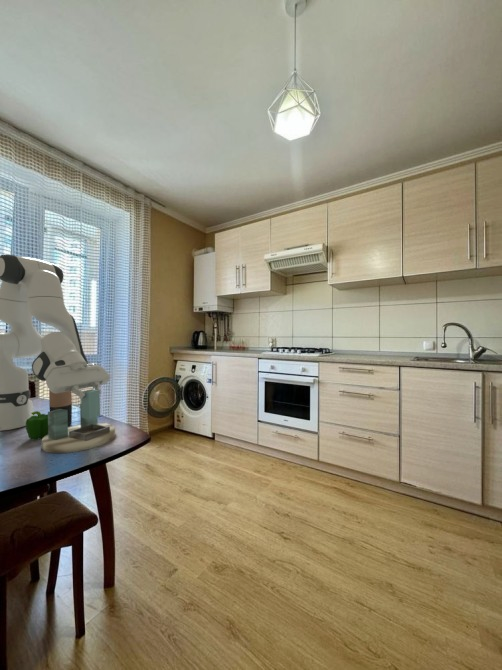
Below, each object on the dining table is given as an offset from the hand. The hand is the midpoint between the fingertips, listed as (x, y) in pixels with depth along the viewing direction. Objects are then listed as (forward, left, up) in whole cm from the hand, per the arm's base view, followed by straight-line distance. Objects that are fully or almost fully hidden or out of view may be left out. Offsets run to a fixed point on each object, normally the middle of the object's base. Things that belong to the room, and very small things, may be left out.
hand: (91, 395), depth 96 cm
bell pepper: (-23, -1, -16) cm, 28 cm away
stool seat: (-6, +1, -16) cm, 17 cm away
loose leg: (-1, 0, -7) cm, 7 cm away
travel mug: (-28, +11, -16) cm, 34 cm away
